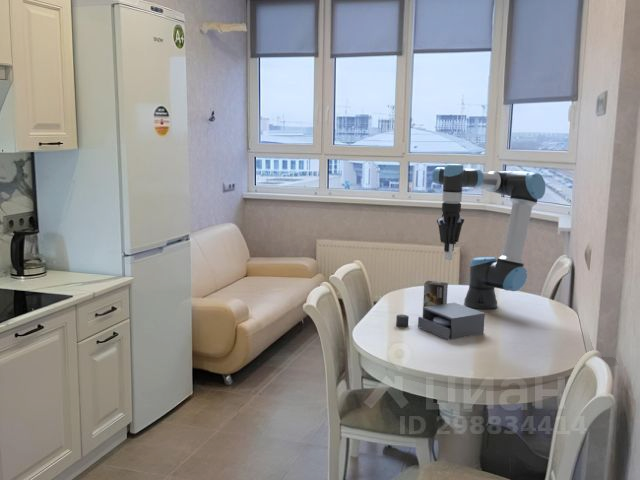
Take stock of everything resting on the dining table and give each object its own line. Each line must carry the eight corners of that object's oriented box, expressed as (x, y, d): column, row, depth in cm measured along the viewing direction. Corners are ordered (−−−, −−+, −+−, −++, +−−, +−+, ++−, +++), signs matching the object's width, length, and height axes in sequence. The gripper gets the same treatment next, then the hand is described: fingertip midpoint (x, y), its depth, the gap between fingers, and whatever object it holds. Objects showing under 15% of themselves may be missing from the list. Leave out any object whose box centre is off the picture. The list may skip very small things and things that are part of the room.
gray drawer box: (453, 321, 262) (454, 302, 261) (483, 333, 247) (484, 313, 245) (422, 326, 254) (423, 307, 252) (451, 339, 238) (452, 318, 237)
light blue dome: (444, 319, 252) (444, 315, 252) (457, 324, 245) (457, 320, 245) (429, 321, 249) (429, 317, 249) (441, 326, 242) (441, 322, 242)
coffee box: (446, 318, 267) (448, 282, 264) (442, 322, 261) (444, 285, 258) (426, 315, 271) (428, 280, 268) (421, 318, 265) (423, 282, 263)
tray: (449, 321, 261) (450, 312, 260) (479, 333, 246) (480, 323, 245) (417, 326, 253) (418, 316, 252) (447, 339, 237) (447, 329, 237)
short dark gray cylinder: (403, 323, 258) (403, 314, 258) (410, 326, 254) (411, 317, 253) (393, 324, 256) (394, 315, 255) (401, 327, 252) (401, 318, 251)
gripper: (457, 201, 254) (454, 256, 258) (433, 201, 248) (430, 258, 251) (470, 202, 247) (466, 259, 251) (445, 203, 241) (442, 262, 245)
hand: (448, 259), depth 251 cm, fingers closed
